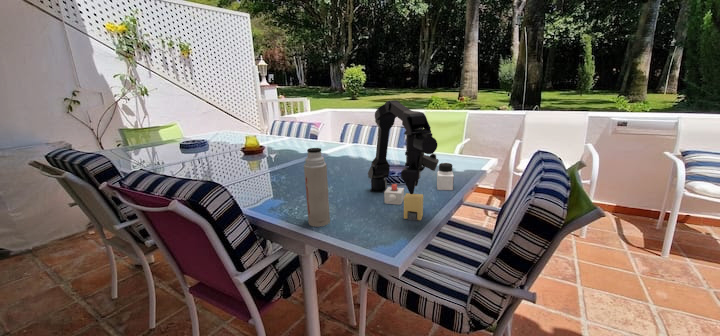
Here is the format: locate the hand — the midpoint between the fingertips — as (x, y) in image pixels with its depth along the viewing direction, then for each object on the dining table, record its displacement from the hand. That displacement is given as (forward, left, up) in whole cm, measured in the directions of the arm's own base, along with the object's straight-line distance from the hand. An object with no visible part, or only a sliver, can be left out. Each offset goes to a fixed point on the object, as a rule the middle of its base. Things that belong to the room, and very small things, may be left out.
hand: (413, 189), depth 116 cm
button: (-10, +14, -6) cm, 19 cm away
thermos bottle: (-33, -13, -11) cm, 37 cm away
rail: (0, +5, -11) cm, 12 cm away
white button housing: (-10, +14, -11) cm, 21 cm away
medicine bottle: (+9, +37, -11) cm, 40 cm away
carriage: (0, 0, -11) cm, 11 cm away
